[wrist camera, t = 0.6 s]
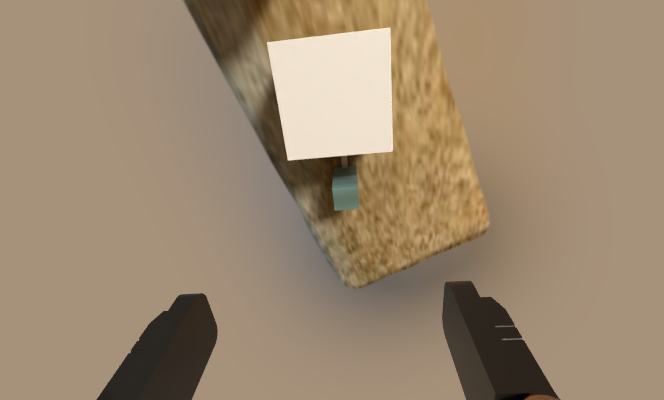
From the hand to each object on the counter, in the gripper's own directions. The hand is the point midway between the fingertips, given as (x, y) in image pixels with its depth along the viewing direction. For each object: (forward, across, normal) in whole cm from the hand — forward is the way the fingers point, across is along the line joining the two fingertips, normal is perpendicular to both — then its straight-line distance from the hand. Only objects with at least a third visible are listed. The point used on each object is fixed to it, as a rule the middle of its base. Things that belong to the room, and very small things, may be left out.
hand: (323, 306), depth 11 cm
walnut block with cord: (+27, 0, +1) cm, 27 cm away
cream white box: (+27, 0, -3) cm, 28 cm away
